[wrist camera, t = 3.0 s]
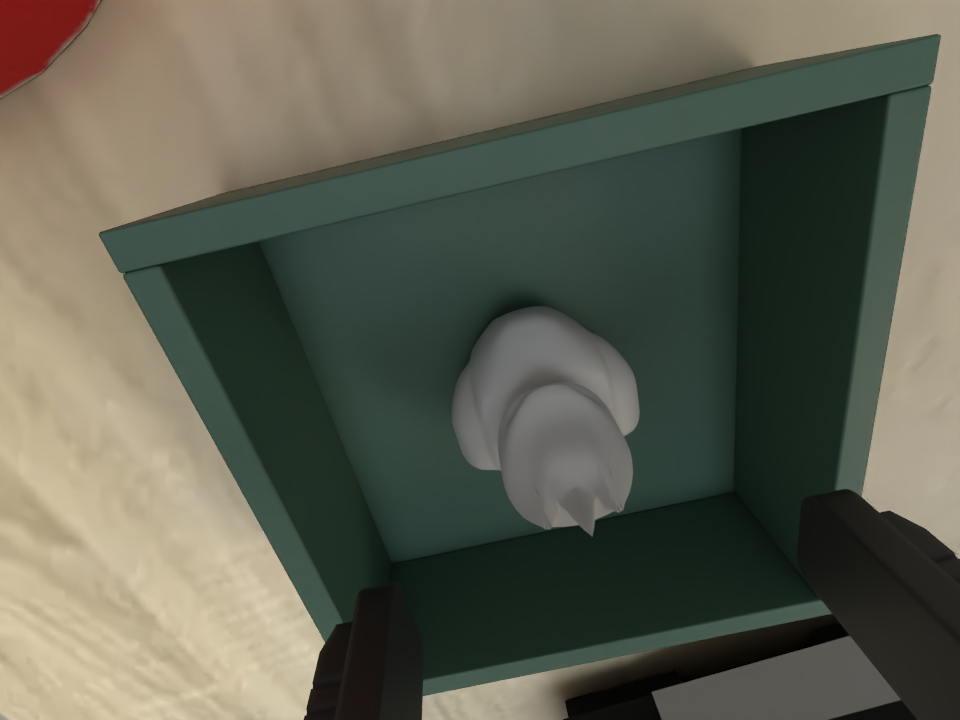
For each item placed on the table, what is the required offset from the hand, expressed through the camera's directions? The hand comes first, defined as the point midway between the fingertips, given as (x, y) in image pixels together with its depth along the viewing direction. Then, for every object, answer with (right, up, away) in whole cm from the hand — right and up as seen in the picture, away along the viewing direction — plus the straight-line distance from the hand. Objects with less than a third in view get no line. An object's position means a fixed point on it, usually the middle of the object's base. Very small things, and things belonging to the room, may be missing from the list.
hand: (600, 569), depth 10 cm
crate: (-1, +4, +7) cm, 8 cm away
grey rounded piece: (-1, +4, +7) cm, 8 cm away
